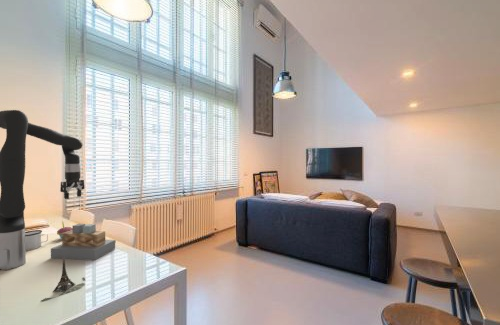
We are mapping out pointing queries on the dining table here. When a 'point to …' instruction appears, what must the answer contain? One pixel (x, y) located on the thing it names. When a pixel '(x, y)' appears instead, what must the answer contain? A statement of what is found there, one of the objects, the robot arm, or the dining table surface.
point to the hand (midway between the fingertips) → (73, 197)
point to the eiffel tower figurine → (65, 284)
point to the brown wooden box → (83, 238)
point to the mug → (33, 239)
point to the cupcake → (63, 230)
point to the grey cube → (78, 228)
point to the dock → (82, 251)
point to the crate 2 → (89, 228)
